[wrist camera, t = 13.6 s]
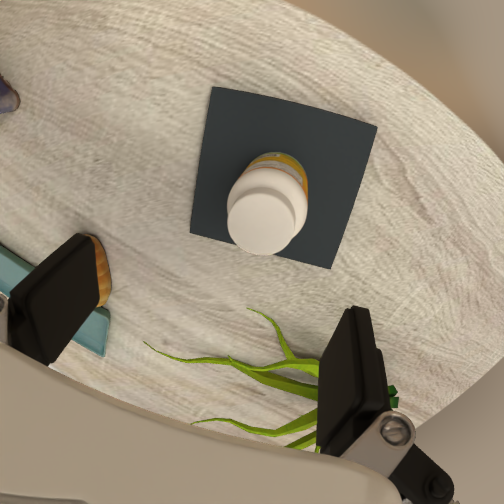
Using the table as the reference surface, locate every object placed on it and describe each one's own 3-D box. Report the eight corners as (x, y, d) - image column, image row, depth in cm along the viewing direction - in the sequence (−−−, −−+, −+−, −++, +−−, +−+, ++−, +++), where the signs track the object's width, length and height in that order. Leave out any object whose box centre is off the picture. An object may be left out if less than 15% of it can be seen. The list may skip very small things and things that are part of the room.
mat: (215, 86, 25) (212, 86, 24) (375, 125, 24) (377, 127, 23) (192, 228, 32) (189, 233, 31) (330, 264, 31) (330, 269, 30)
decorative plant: (227, 243, 32) (174, 347, 19) (401, 381, 37) (416, 476, 25) (148, 331, 40) (98, 418, 27) (307, 431, 46) (299, 511, 33)
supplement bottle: (285, 221, 29) (274, 281, 20) (233, 189, 28) (200, 236, 20) (320, 173, 26) (325, 216, 18) (266, 138, 26) (243, 163, 17)
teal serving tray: (116, 310, 39) (107, 321, 37) (110, 349, 44) (103, 360, 42) (-10, 231, 38) (-20, 238, 36) (-6, 273, 42) (-14, 281, 40)
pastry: (69, 224, 34) (50, 238, 31) (114, 238, 34) (96, 254, 31) (74, 285, 39) (59, 301, 36) (115, 301, 39) (101, 319, 35)
